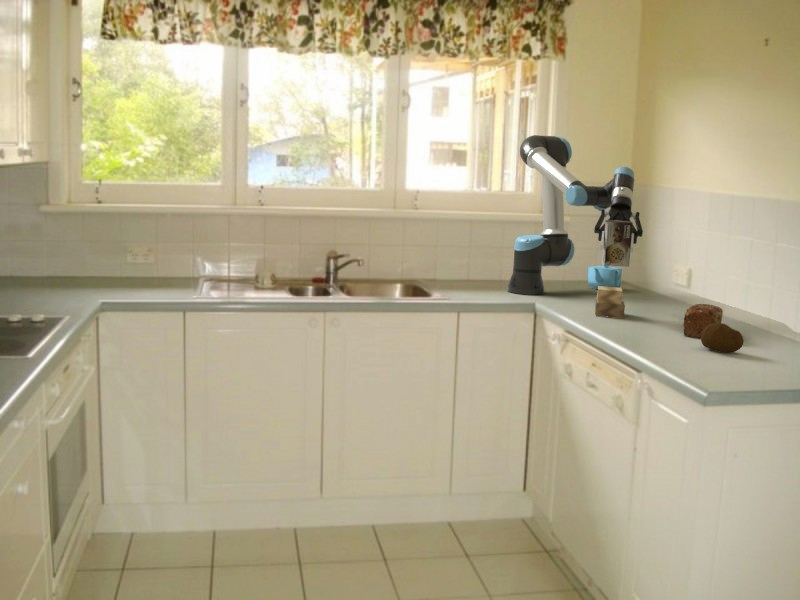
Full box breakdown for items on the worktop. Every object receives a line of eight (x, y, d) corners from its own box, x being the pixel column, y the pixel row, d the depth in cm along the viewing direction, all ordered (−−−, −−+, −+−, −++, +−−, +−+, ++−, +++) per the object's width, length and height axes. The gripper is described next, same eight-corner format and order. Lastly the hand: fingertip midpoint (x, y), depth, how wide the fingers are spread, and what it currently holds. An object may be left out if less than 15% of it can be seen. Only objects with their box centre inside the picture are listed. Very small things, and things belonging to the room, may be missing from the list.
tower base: (595, 316, 321) (596, 303, 320) (594, 312, 331) (595, 299, 330) (623, 319, 319) (624, 305, 318) (622, 314, 329) (623, 301, 328)
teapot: (629, 290, 387) (631, 264, 385) (607, 294, 374) (610, 267, 372) (597, 285, 398) (599, 260, 396) (575, 288, 385) (577, 262, 383)
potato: (731, 357, 264) (735, 328, 262) (693, 349, 272) (697, 321, 270) (743, 353, 270) (746, 325, 268) (706, 346, 278) (709, 318, 276)
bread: (714, 341, 287) (717, 310, 286) (680, 336, 292) (683, 306, 290) (721, 331, 304) (724, 303, 302) (689, 327, 308) (692, 299, 307)
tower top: (597, 303, 321) (598, 289, 320) (596, 299, 329) (597, 286, 328) (621, 304, 319) (622, 291, 318) (620, 301, 327) (621, 287, 327)
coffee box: (626, 264, 325) (630, 220, 322) (629, 267, 319) (633, 222, 316) (601, 263, 326) (605, 219, 323) (603, 265, 319) (607, 220, 317)
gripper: (591, 193, 330) (585, 239, 318) (653, 197, 325) (649, 244, 313) (590, 206, 336) (584, 252, 324) (651, 210, 331) (647, 257, 319)
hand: (616, 248), depth 318 cm, fingers closed on coffee box, 10 cm apart
